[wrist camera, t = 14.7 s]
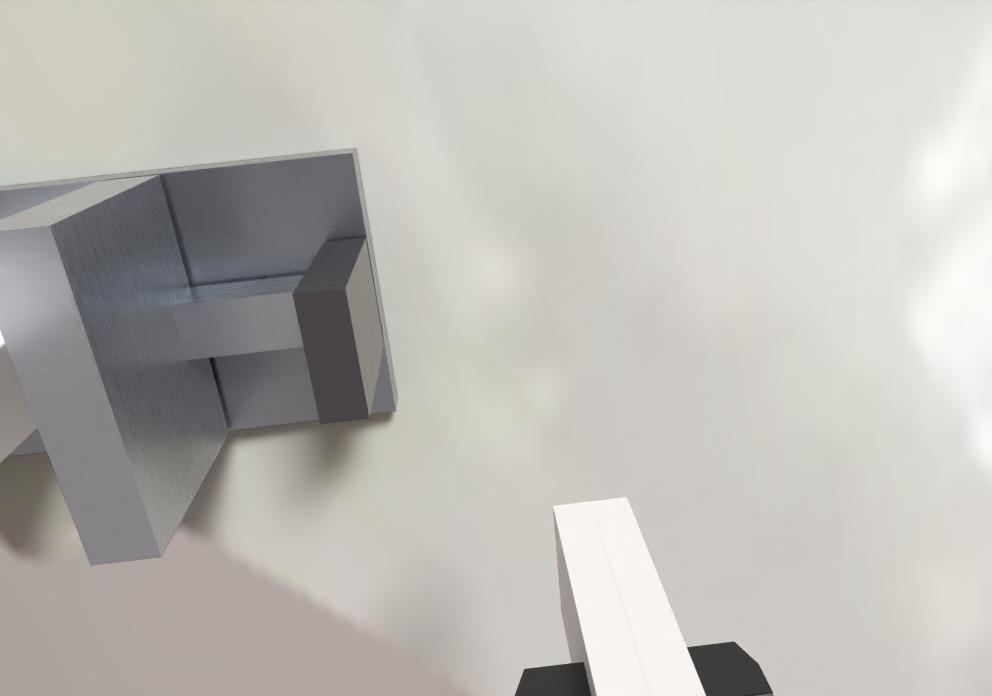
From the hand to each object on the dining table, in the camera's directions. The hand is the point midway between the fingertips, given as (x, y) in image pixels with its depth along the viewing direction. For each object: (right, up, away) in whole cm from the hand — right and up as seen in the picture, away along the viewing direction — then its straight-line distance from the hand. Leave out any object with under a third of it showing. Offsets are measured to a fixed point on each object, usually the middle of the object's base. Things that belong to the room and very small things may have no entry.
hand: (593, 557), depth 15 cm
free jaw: (-13, +6, +17) cm, 22 cm away
